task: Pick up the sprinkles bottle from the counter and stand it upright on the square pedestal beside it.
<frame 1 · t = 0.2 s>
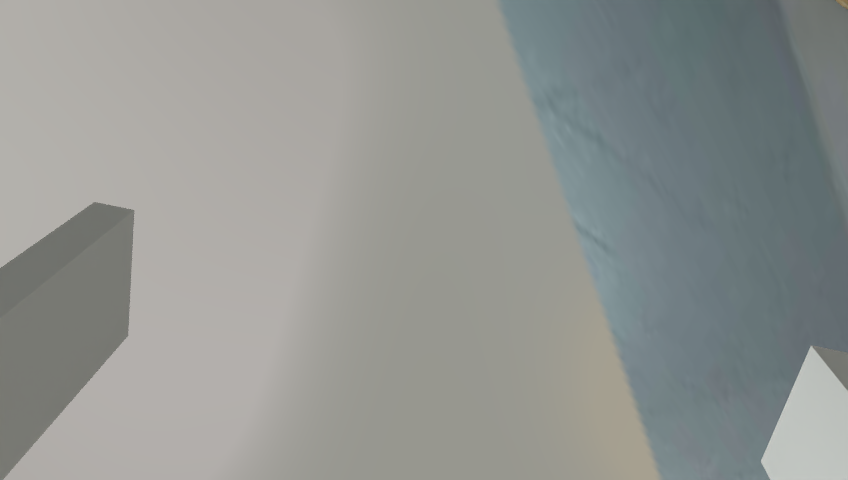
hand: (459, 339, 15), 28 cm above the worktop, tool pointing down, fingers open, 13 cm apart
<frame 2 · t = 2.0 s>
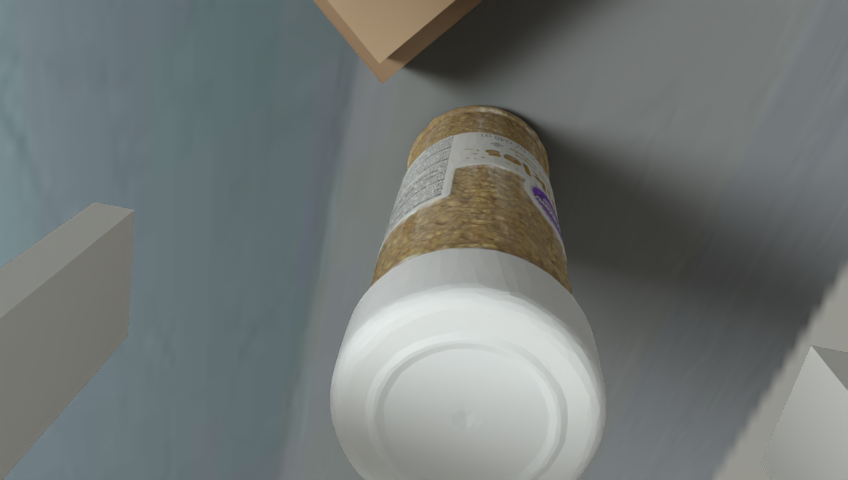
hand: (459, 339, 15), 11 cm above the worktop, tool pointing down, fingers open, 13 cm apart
sprinkles bottle: (476, 169, 25), on the worktop
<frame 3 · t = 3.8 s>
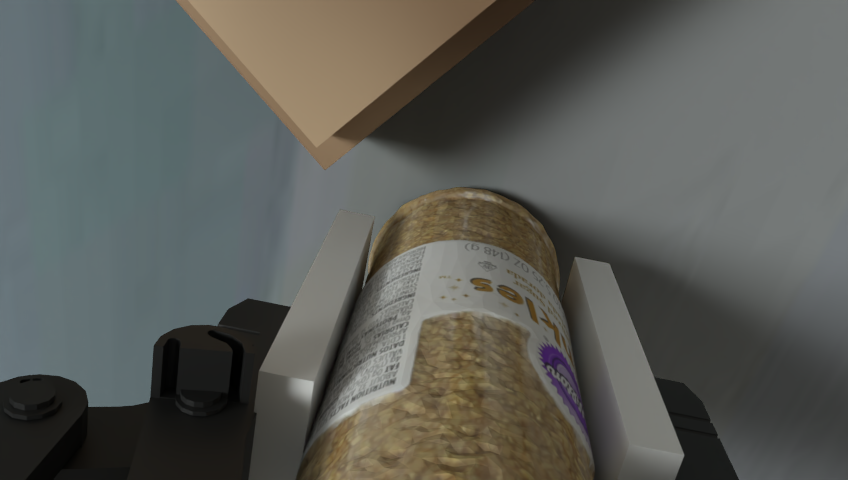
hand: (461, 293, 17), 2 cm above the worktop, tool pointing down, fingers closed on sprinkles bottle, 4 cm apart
sprinkles bottle: (461, 267, 19), on the worktop, touching gripper
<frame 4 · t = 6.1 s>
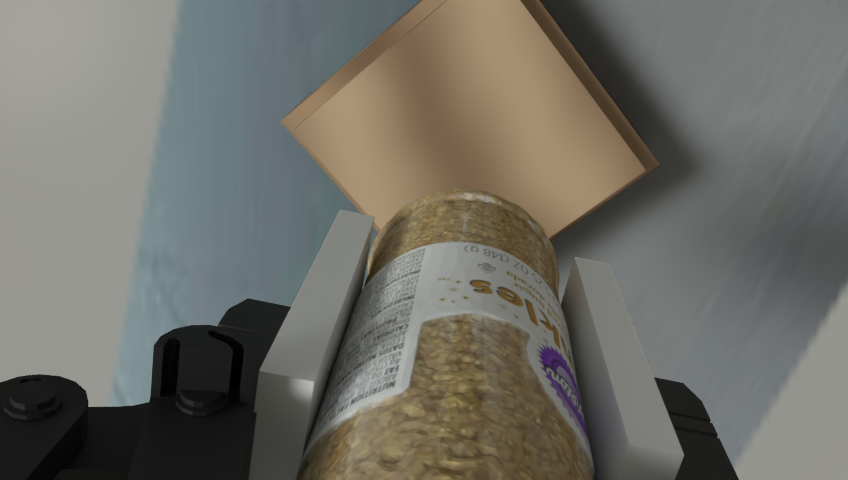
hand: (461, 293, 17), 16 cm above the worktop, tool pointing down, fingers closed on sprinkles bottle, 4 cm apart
sprinkles bottle: (460, 268, 19), point 14 cm above the worktop, touching gripper
pedestal: (470, 124, 32), on the worktop
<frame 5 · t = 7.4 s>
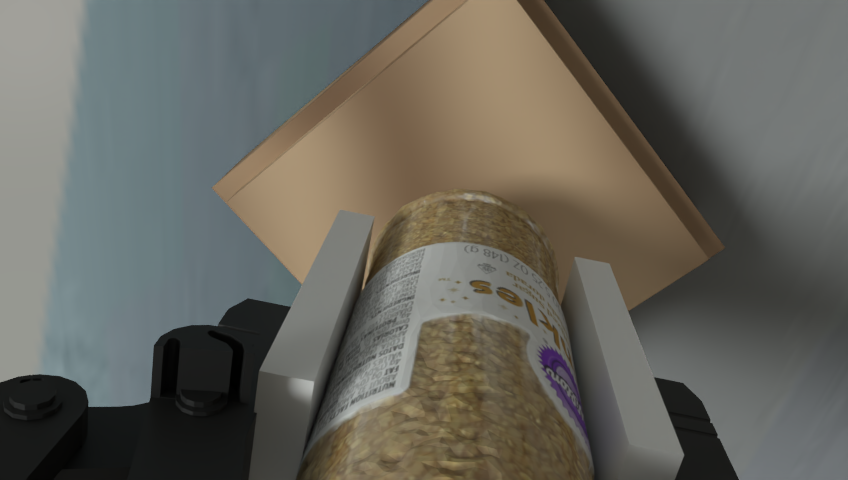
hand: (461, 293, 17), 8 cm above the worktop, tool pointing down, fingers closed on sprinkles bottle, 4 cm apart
sprinkles bottle: (460, 269, 19), point 6 cm above the worktop, touching gripper
pedestal: (468, 184, 24), on the worktop
when the fingers open (7 cm above the worktop, at t = 8.2 s): sprinkles bottle drops 1 cm, resting on pedestal.
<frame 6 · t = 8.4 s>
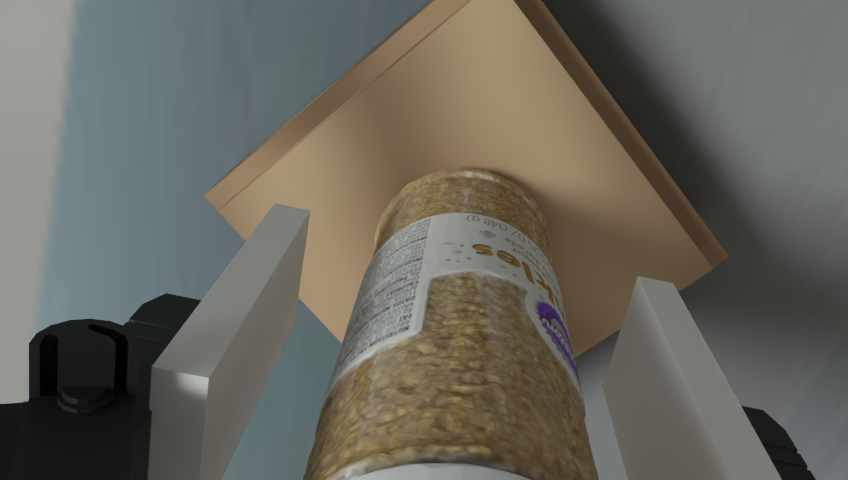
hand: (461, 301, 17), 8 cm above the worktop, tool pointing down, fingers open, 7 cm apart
sprinkles bottle: (460, 243, 20), point 4 cm above the worktop, touching pedestal
pedestal: (466, 191, 24), on the worktop
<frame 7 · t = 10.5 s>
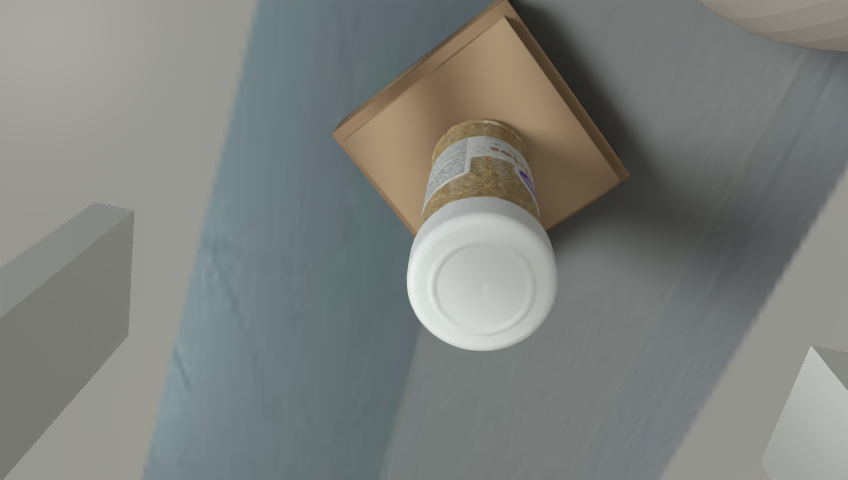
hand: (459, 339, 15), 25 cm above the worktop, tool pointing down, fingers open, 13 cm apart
sprinkles bottle: (479, 163, 36), point 4 cm above the worktop, touching pedestal
pedestal: (480, 140, 39), on the worktop
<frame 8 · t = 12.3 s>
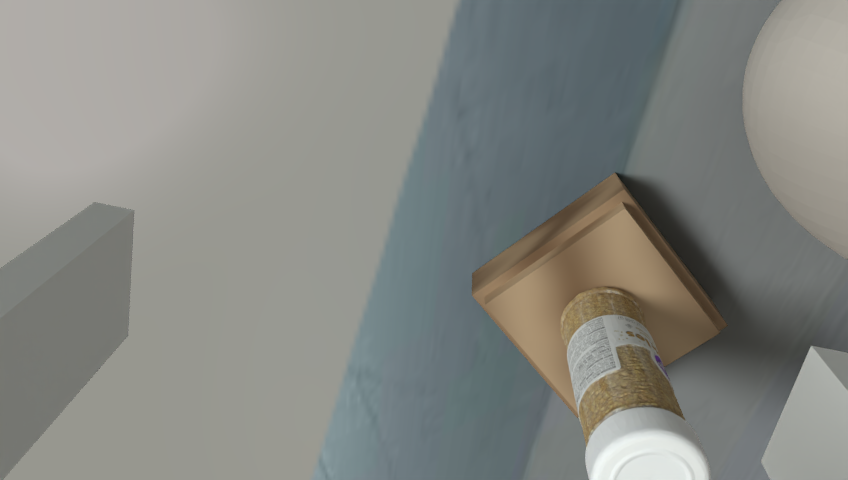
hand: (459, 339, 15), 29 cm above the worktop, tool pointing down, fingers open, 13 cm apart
sprinkles bottle: (599, 320, 42), point 4 cm above the worktop, touching pedestal
vase: (830, 63, 40), on the worktop
pedestal: (592, 287, 46), on the worktop
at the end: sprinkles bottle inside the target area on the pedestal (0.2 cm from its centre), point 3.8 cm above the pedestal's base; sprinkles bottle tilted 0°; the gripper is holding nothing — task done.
